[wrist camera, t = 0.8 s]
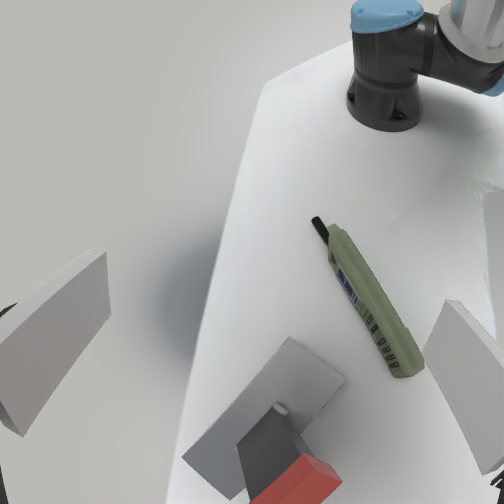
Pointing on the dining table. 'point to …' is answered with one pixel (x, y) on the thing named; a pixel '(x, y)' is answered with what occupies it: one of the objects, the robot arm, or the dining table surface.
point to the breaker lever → (282, 464)
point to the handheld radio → (371, 302)
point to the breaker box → (263, 412)
